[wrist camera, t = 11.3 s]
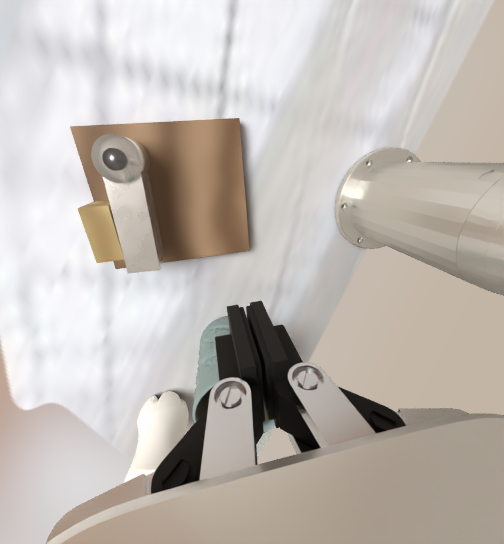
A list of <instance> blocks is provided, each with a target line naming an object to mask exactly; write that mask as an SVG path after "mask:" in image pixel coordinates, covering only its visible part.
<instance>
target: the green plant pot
mask: <svg viewBox="0 0 504 544" xmlns="http://www.w3.org/2000/svg"><path fill="white" fill-rule="evenodd" d="M228 334H230V328H229V320H228V316H225V317H222V318H219V319H217V320H215V321H213V322H212V323H211V324H209V325H208V326H207V327H206V329H205V330H204V332H203V334H202V337H201V341H200V351H199V360H198V364H199V367H198V372H197V377H196V384H197V387H196V389H195V396H194V404H193V412H192V416H193V421H194V423H196V422H197V420H198V419H199V418H200V417H201V416H202V415H203V414H204V412H205V411H206V410H207V409H208V405H209V397H210V393H211V390H212V389H213V387H214V386H215V385H216V384H217V383H218V382H219V373H218V363H217V354H216V344H215V337H217V336H222V335H228ZM264 410H265V422H263V429H264V433H265V432H266V431H268V430H269V429H271V428H272V427H273V426H274V425H275V423H274V419H273V420H269V419H268V416H267V412H266V408H265V405H264Z"/></svg>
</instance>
